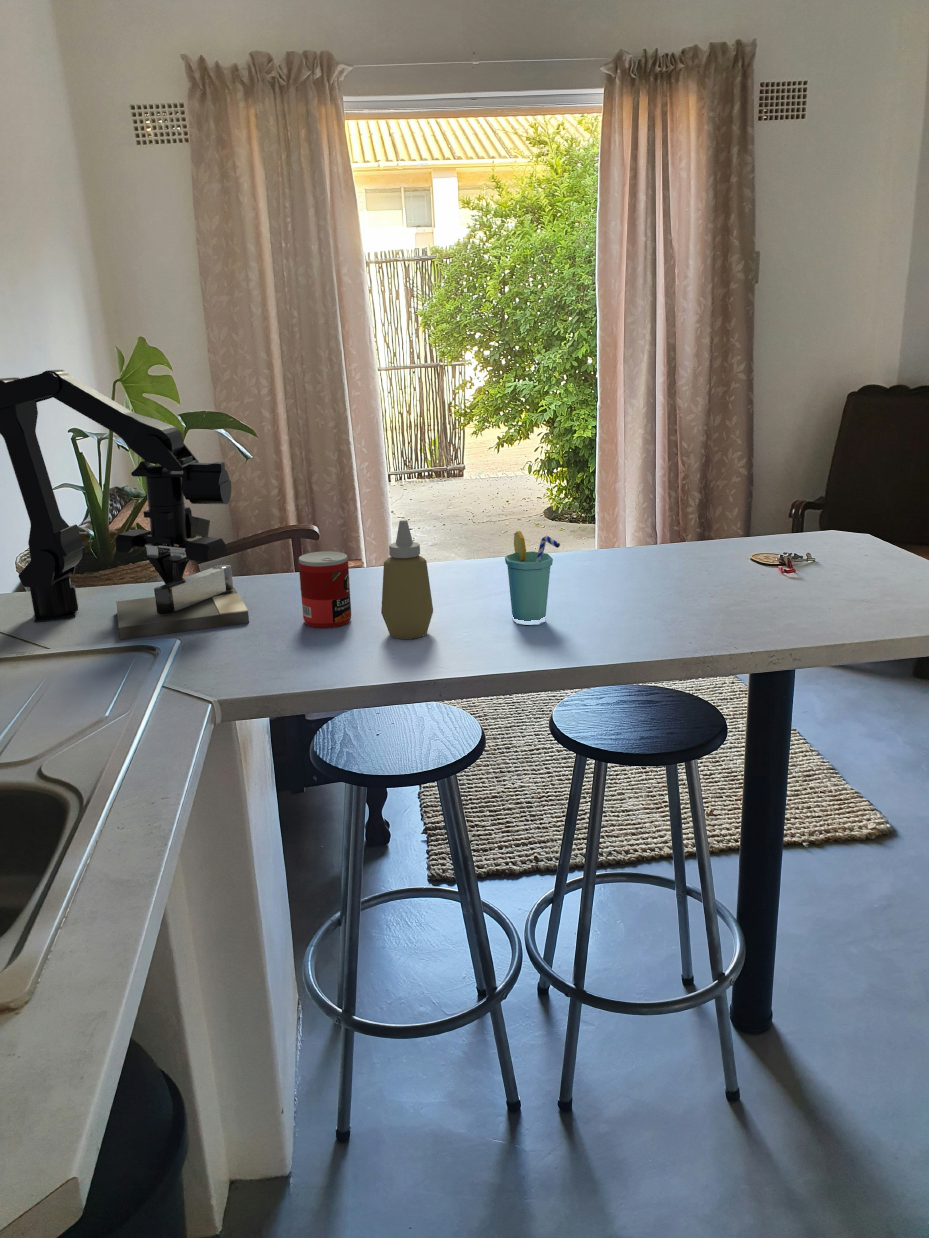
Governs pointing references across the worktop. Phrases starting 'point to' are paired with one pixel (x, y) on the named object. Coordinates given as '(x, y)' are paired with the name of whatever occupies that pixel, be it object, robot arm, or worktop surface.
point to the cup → (529, 579)
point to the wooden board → (179, 615)
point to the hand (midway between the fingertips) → (175, 594)
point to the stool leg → (193, 589)
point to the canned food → (325, 589)
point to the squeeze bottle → (406, 588)
